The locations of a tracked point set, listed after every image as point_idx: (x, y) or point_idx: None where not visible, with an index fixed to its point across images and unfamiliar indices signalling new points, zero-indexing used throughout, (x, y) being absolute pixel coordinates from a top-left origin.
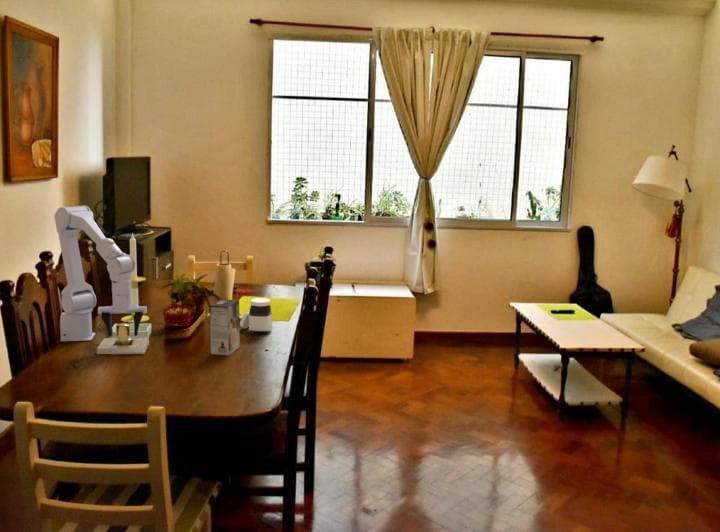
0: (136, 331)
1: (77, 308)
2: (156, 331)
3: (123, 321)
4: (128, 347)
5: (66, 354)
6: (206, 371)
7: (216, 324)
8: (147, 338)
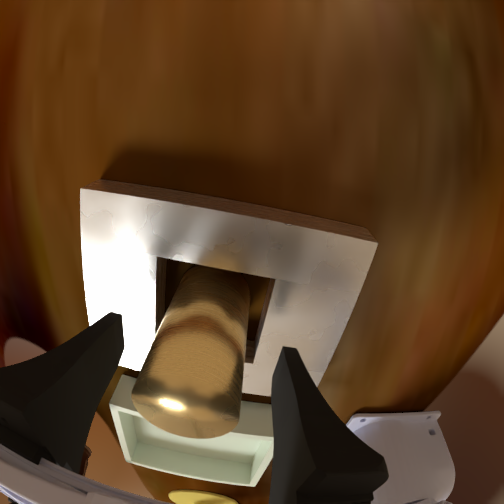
0: (92, 325)
1: None
2: None
3: (232, 499)
4: (171, 214)
5: (479, 274)
6: None
7: None
8: None
